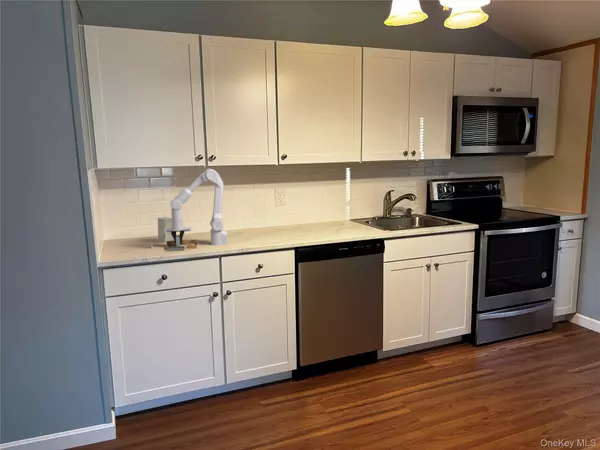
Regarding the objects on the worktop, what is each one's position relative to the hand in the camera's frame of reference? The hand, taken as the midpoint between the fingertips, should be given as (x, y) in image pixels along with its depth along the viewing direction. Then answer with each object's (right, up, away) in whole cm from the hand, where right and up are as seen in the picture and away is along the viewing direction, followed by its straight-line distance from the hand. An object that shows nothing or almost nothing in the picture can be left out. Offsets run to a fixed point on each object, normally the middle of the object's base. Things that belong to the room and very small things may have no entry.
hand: (178, 244), depth 254 cm
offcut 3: (+6, -2, +4) cm, 8 cm away
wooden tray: (+1, -2, +1) cm, 3 cm away
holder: (+1, -4, -8) cm, 9 cm away
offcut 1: (+7, -1, -1) cm, 7 cm away
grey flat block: (0, -2, 0) cm, 2 cm away
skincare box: (-12, 0, +18) cm, 22 cm away
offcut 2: (+7, -3, 0) cm, 8 cm away
